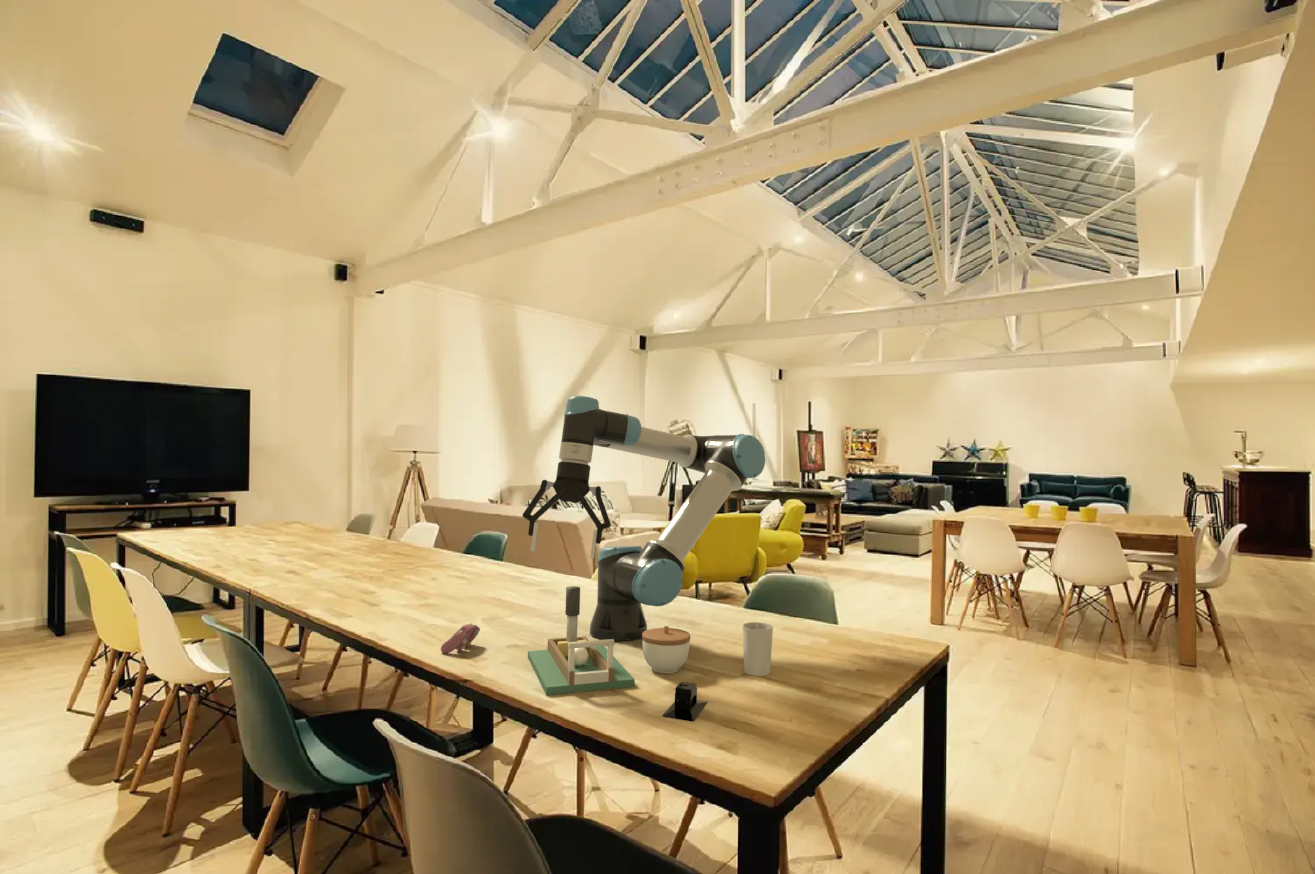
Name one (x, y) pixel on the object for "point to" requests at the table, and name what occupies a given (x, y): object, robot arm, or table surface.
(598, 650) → the pitch
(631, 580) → the robot arm
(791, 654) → the table surface
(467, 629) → the pink toy animal
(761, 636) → the drinking glass
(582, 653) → the ball
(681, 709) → the black arch on base
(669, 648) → the lidded jar
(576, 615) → the striker
